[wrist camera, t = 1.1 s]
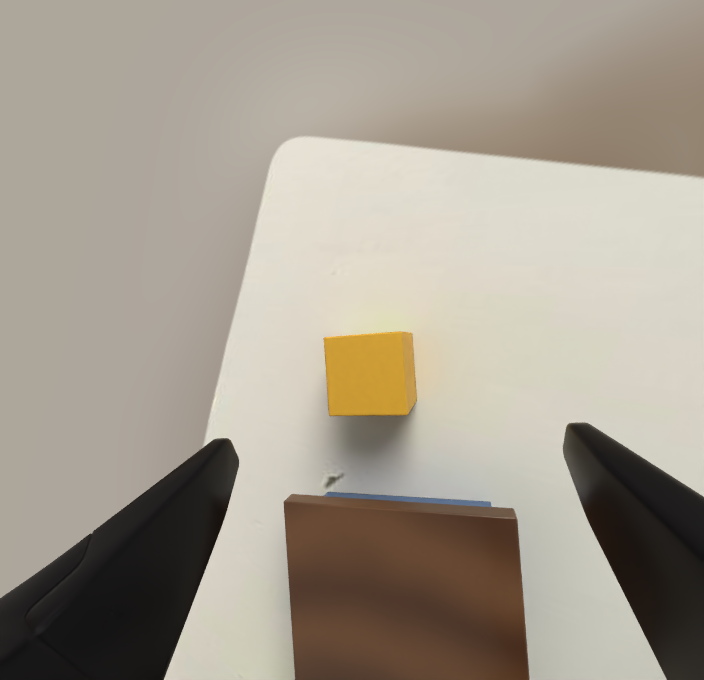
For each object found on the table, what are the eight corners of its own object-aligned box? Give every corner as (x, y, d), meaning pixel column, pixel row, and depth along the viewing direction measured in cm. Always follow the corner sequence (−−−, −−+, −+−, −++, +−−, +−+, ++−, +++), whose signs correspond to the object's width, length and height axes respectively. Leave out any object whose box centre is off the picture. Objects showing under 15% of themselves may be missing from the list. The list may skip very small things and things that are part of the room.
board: (530, 722, 19) (534, 746, 18) (303, 670, 23) (295, 687, 22) (513, 507, 20) (517, 518, 18) (291, 493, 24) (283, 501, 23)
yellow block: (417, 401, 25) (407, 415, 20) (351, 402, 27) (328, 416, 22) (412, 332, 25) (401, 331, 20) (347, 337, 27) (323, 337, 22)
